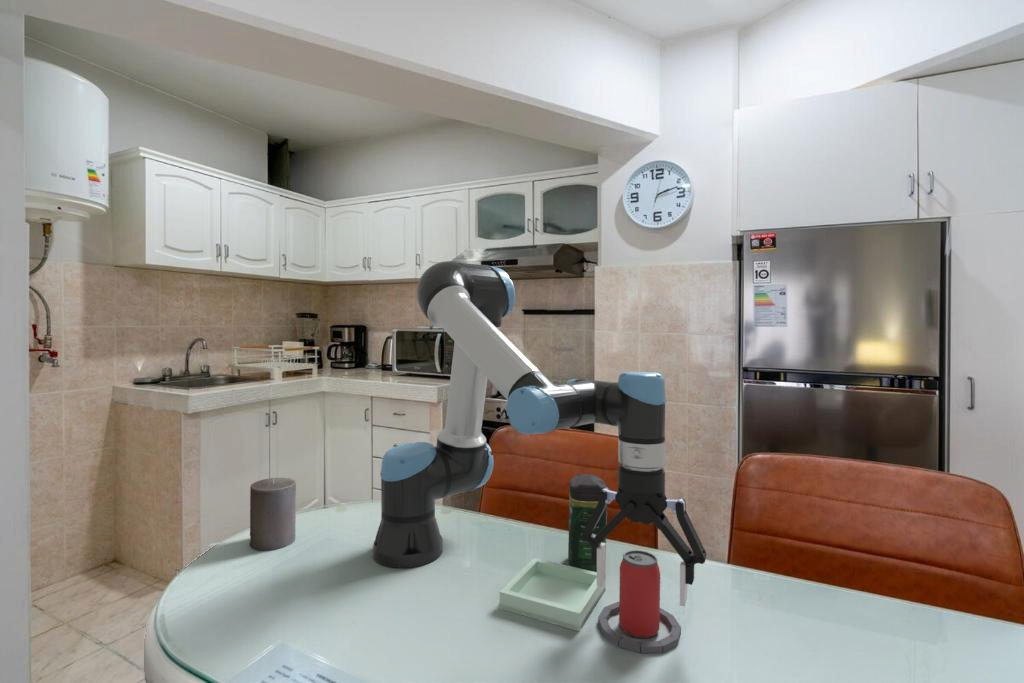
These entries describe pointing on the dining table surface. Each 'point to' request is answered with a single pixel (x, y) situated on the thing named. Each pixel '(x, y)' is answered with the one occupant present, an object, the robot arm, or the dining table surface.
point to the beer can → (639, 594)
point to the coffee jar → (583, 518)
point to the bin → (553, 593)
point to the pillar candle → (272, 513)
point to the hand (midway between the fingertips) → (640, 592)
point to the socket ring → (634, 644)
